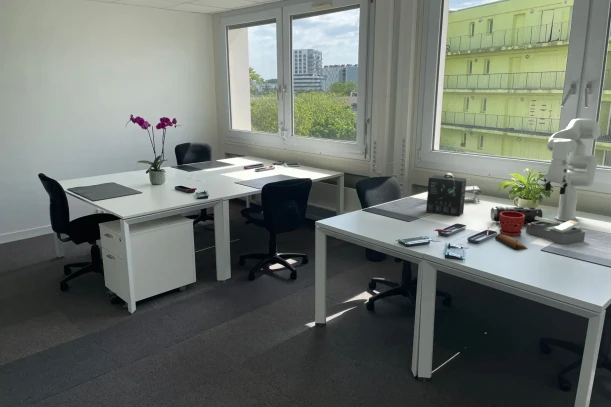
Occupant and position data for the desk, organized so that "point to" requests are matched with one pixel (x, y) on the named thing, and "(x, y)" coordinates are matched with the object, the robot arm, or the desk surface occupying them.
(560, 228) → the rocker
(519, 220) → the plant pot
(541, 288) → the desk surface
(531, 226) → the panel
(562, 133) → the robot arm
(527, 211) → the muzzle brake
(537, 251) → the desk surface
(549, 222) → the plate
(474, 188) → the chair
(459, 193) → the headset box
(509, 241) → the brown pointed cylinder
